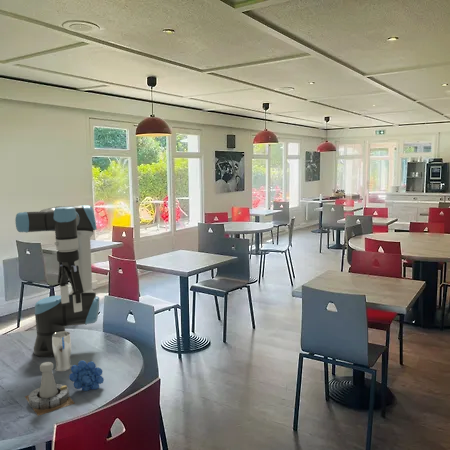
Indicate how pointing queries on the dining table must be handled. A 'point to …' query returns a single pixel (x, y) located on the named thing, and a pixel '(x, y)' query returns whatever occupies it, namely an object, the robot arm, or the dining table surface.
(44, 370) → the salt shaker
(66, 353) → the beer glass
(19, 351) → the dining table surface
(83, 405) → the dining table surface
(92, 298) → the robot arm
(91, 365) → the grapes
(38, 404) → the grey segmented ring
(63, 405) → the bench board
